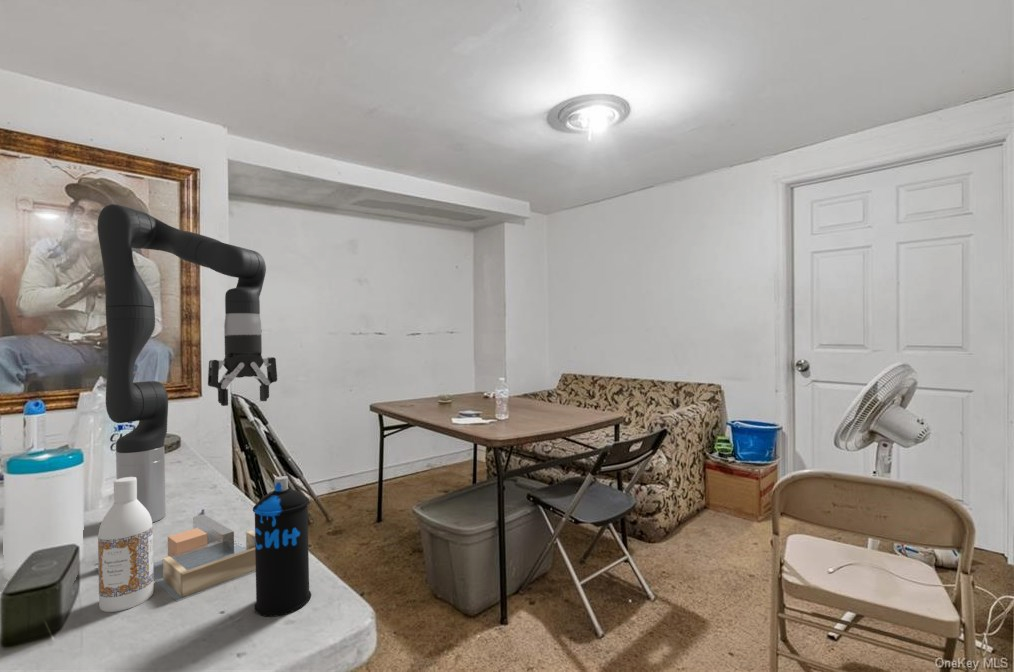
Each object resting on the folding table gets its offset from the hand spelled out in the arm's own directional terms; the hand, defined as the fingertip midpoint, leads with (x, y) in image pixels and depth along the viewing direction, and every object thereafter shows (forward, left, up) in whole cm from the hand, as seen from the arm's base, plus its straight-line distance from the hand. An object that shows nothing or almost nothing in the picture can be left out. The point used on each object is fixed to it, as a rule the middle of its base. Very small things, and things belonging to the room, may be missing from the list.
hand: (244, 403), depth 109 cm
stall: (+20, -13, -28) cm, 37 cm away
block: (+11, -15, -28) cm, 34 cm away
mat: (+16, -13, -28) cm, 35 cm away
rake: (+7, -13, -28) cm, 32 cm away
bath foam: (+19, -26, -28) cm, 43 cm away
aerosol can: (+40, -11, -28) cm, 50 cm away
